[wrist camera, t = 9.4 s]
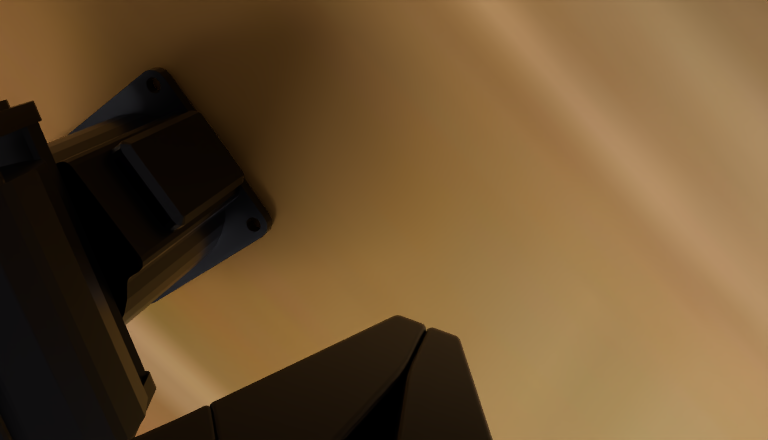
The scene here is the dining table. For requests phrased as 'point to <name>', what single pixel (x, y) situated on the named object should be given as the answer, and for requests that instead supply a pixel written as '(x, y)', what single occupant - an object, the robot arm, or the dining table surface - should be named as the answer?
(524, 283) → the dining table surface
